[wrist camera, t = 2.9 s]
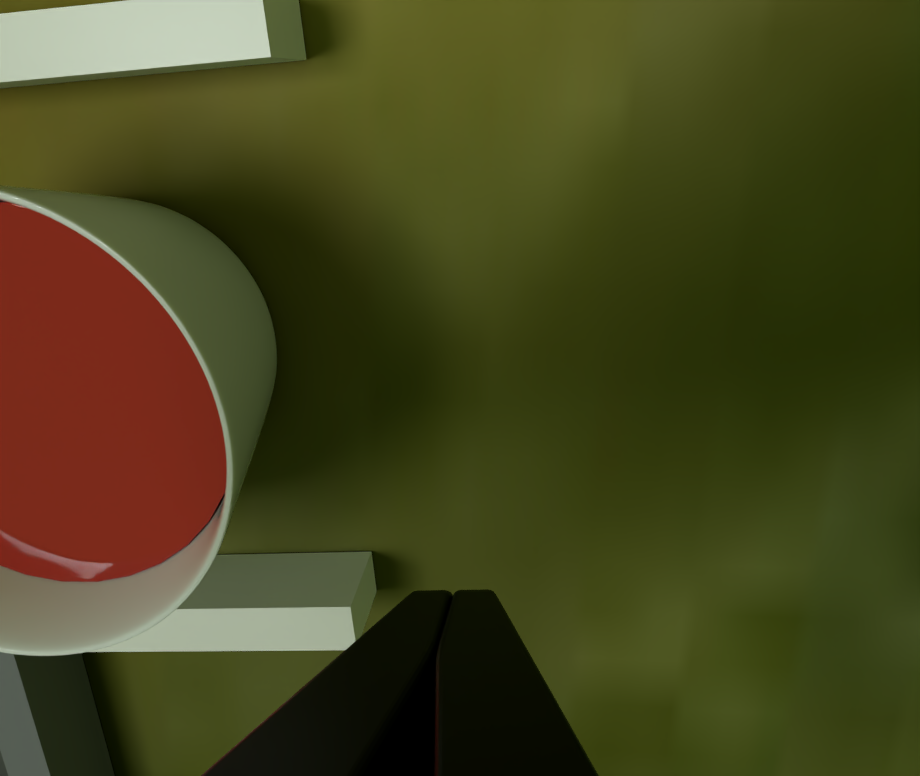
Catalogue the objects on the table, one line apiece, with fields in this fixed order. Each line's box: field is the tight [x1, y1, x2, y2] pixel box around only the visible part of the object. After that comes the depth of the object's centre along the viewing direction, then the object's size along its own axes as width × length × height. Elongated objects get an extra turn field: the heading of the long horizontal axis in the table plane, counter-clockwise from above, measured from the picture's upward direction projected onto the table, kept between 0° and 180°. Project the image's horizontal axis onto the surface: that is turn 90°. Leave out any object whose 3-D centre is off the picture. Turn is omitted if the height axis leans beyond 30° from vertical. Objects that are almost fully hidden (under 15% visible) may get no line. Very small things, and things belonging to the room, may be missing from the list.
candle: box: [0, 185, 277, 656], centre depth 18 cm, size 9×9×6 cm
